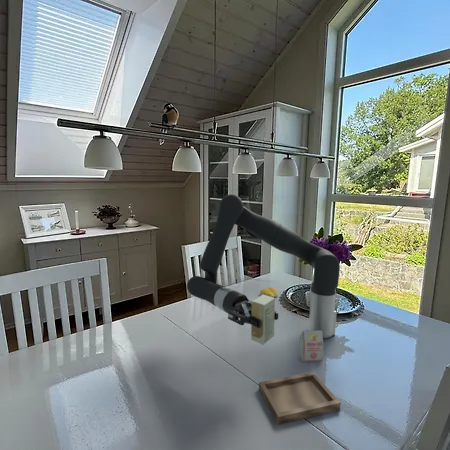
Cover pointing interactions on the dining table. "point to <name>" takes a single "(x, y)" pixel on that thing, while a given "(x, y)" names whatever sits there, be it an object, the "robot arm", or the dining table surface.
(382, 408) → the dining table surface
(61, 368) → the dining table surface
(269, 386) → the walnut tray
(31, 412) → the dining table surface
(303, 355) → the white boxy package
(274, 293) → the bread roll
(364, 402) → the dining table surface
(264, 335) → the skincare box
